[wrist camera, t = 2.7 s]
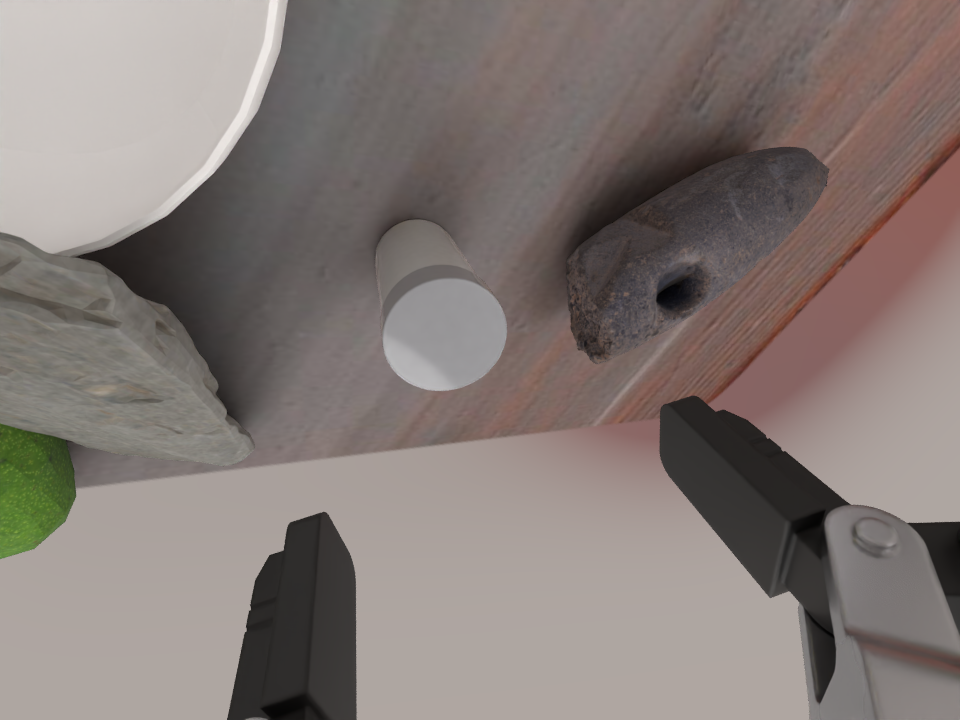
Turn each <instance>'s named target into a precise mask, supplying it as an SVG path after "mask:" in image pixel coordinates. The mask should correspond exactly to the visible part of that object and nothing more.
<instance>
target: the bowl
mask: <svg viewBox="0 0 960 720" xmlns="http://www.w3.org/2000/svg"><path fill="white" fill-rule="evenodd" d="M287 3H288V0H0V232H2V233H7V234H10V235H14V236H17V237H21V238H23V239H25V240H26V241H28V242H29V243H31V244H33V245H34V246H36V247H38V248H39V249H41V250H43V251H44V252H47V253H51V254H57V255H64V256H71V257H76V256H79V255H83V254H86V253H90V252H93V251H97V250H100V249H103V248H107V247H110V246H112V245H114V244H116V243H118V242H120V241H122V240H123V239H125V238H127V237H129V236H131V235H133V234H134V233H136V232H138V231H140V230H142V229H144V228H145V227H147V226H149V225H151V224H153V223H155V222H156V221H158V220H160V219H162V218H164V217H166V216H167V215H168V214H169V213H171V212H172V211H173V210H174V209H175V208H176V207H177V206H178V205H179V204H180V203H182V202H183V201H184V200H185V199H186V198H187V197H188V196H189V195H190V194H191V193H192V192H194V191H195V190H196V189H197V188H198V187H199V186H200V185H201V184H202V183H203V182H205V181H206V180H207V179H208V178H209V177H210V176H211V175H212V174H213V173H214V172H215V171H216V170H217V169H218V167H219V166H220V165H221V164H222V163H223V162H224V160H225V159H226V158H227V157H228V155H229V154H230V152H231V150H232V149H233V147H234V146H235V144H236V143H237V141H238V140H239V138H240V137H241V135H242V134H243V132H244V131H245V129H246V128H247V126H248V125H249V123H250V122H251V120H252V119H253V117H254V116H255V114H256V113H257V111H258V109H259V107H260V104H261V101H262V99H263V96H264V93H265V90H266V88H267V85H268V82H269V80H270V77H271V74H272V72H273V69H274V66H275V63H276V61H277V58H278V55H279V53H280V49H281V42H282V36H283V29H284V22H285V16H286V9H287Z"/></svg>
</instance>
